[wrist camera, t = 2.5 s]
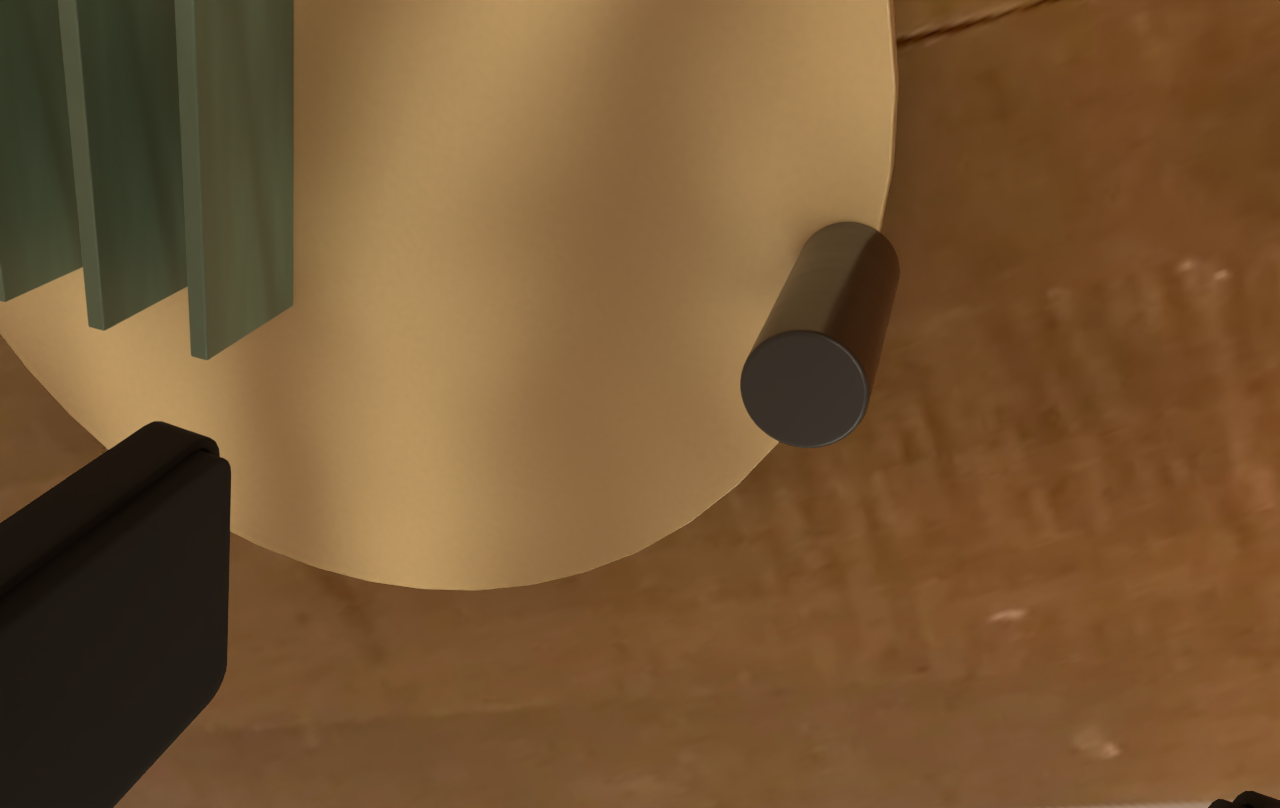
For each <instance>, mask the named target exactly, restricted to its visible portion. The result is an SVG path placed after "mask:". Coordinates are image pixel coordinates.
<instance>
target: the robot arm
mask: <svg viewBox="0 0 1280 808" xmlns="http://www.w3.org/2000/svg"><path fill="white" fill-rule="evenodd" d="M230 507H231V466H230V464H229V462H228V461H227V460H226V459H224V458H222V457H220V453H219V447H218V445H217V443H216V441H214V440H213V439H211V438H210V437H207V436H204V435H201V434H198V433H195V432H192V431H189V430H186V429H183V428H180V427H177V426H174V425H171V424H168V423H165V422H163V421H153V422H151V423H149V424H147V425H145V426H143V427H142V428H140V429H139V430H137V431H136V432H134V433H133V434H132V435H130V436H129V437H127V438H126V439H124V440H123V441H121V442H120V443H118V444H117V445H115V446H114V447H112V448H111V449H109V450H108V451H106V452H105V453H103V454H102V455H100V456H99V457H98V458H96V459H95V460H93V461H92V462H90V463H89V464H87V465H86V466H84V467H83V468H81V469H80V470H78V471H77V472H75V473H74V474H72V475H71V476H69V477H68V478H66V479H65V480H64V481H62V482H61V483H59V484H58V485H56V486H55V487H53V488H52V489H50V490H49V491H47V492H46V493H44V494H43V495H41V496H40V497H38V498H37V499H35V500H34V501H32V502H31V503H30V504H28V505H27V506H25V507H24V508H22V509H21V510H19V511H18V512H16V513H15V514H13V515H12V516H10V517H9V518H7V519H6V520H4V521H3V522H1V523H0V808H113V807H114V806H115V805H116V804H117V803H118V801H119V800H120V799H121V798H122V797H123V796H124V795H125V794H126V793H127V792H128V791H129V790H130V788H131V787H132V786H133V785H134V784H135V783H136V782H137V781H138V780H139V779H140V778H141V776H142V775H143V774H144V773H145V772H146V771H147V770H148V769H149V768H150V767H151V766H152V765H153V763H154V762H155V761H156V760H157V759H158V758H159V757H160V756H161V755H162V754H163V753H164V751H165V750H166V749H167V748H168V747H169V746H170V745H171V744H172V743H173V742H174V741H175V739H176V738H177V737H178V736H179V735H180V734H181V733H182V732H183V731H184V730H185V729H186V728H187V726H188V725H189V724H190V723H191V722H192V721H193V720H194V719H195V718H196V717H197V716H198V714H199V713H200V712H201V711H202V710H203V709H204V708H205V707H206V706H207V705H208V704H209V702H210V701H211V700H212V699H213V697H214V696H215V694H216V693H217V691H218V689H219V688H220V685H221V683H222V681H223V678H224V675H225V672H226V666H227V637H228V594H229V551H230ZM1208 808H1280V800H1277V799H1274V798H1271V797H1268V796H1265V795H1262V794H1259V793H1256V792H1254V791H1245V792H1243V793H1242V794H1240V795H1238V796H1237V797H1236V799H1235V800H1234V801H1233V802H1229V801H1226V800H1223V799H1217V800H1216V801H1214V802H1212V804H1211V805H1210V806H1209V807H1208Z"/></svg>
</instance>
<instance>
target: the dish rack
mask: <svg viewBox="0 0 1280 808" xmlns="http://www.w3.org/2000/svg"><path fill="white" fill-rule="evenodd" d="M898 90H899V73H898V59H897V45H896V31H895V17H894V3H893V0H0V334H1V335H2V337H3V338H4V339H5V340H6V342H7V343H8V344H9V346H10V347H11V348H12V349H13V351H14V352H15V353H16V355H17V356H18V357H19V359H20V360H21V361H22V362H23V364H24V365H25V366H26V368H27V369H28V370H29V371H30V372H31V373H32V374H33V375H34V376H35V377H36V378H37V380H38V381H39V382H40V383H41V384H42V385H43V386H44V387H45V388H46V389H47V390H48V391H49V393H50V394H51V395H52V396H53V397H54V398H55V399H56V400H57V401H58V402H59V403H60V404H61V406H62V407H63V408H64V409H65V410H66V411H67V412H68V413H69V414H70V415H71V416H72V417H73V418H74V419H75V420H76V421H78V422H79V423H80V424H81V425H82V426H83V427H84V428H85V429H86V430H87V431H89V432H90V433H91V434H92V435H93V436H94V437H95V438H96V439H97V440H98V441H99V442H101V443H102V444H103V445H104V446H105V447H106V448H107V449H108V450H109V449H111V448H112V447H114V446H115V445H117V444H118V443H120V442H121V441H123V440H124V439H126V438H127V437H129V436H130V435H132V434H133V433H134V432H136V431H137V430H139V429H140V428H142V427H143V426H145V425H147V424H149V423H151V422H153V421H163V422H165V423H168V424H171V425H174V426H177V427H180V428H183V429H186V430H189V431H192V432H195V433H198V434H201V435H204V436H207V437H210V438H211V439H213V440H214V441H216V443H217V445H218V447H219V453H220V457H222V458H224V459H226V460H227V461H228V462H229V464H230V466H231V507H230V531H231V532H233V533H235V534H237V535H239V536H241V537H243V538H245V539H247V540H249V541H251V542H253V543H255V544H257V545H259V546H261V547H263V548H265V549H268V550H271V551H273V552H276V553H279V554H281V555H284V556H287V557H289V558H292V559H294V560H297V561H300V562H302V563H305V564H308V565H310V566H313V567H316V568H320V569H324V570H328V571H331V572H335V573H339V574H343V575H347V576H350V577H354V578H358V579H362V580H366V581H371V582H377V583H384V584H391V585H398V586H405V587H412V588H419V589H440V590H487V589H497V588H507V587H516V586H526V585H534V584H538V583H542V582H547V581H551V580H555V579H559V578H563V577H568V576H572V575H576V574H580V573H584V572H588V571H590V570H593V569H595V568H598V567H600V566H603V565H606V564H608V563H611V562H613V561H616V560H618V559H621V558H624V557H626V556H629V555H631V554H634V553H636V552H639V551H641V550H643V549H644V548H646V547H648V546H650V545H651V544H653V543H655V542H657V541H658V540H660V539H662V538H664V537H666V536H667V535H669V534H671V533H673V532H674V531H676V530H678V529H680V528H681V527H683V526H685V525H687V524H689V523H690V522H691V521H693V520H694V519H695V518H697V517H698V516H699V515H700V514H702V513H703V512H704V511H706V510H707V509H708V508H709V507H711V506H712V505H713V504H715V503H716V502H717V501H718V500H720V499H721V498H722V497H724V496H725V495H726V494H727V493H729V492H730V491H731V490H733V489H734V488H735V487H736V486H738V485H739V484H740V482H741V481H742V480H743V479H744V478H745V477H746V476H747V475H748V474H749V473H750V472H751V471H752V470H753V469H754V468H755V467H756V466H757V465H758V464H759V463H760V462H761V461H762V459H763V458H764V457H765V456H766V455H767V454H768V453H769V452H770V451H771V450H772V449H773V448H774V447H775V446H776V445H777V444H778V443H779V442H781V443H784V444H787V445H790V446H795V447H802V448H816V447H823V446H826V445H830V444H833V443H835V442H837V441H839V440H841V439H843V438H845V437H846V436H847V435H849V434H850V433H851V432H852V431H853V430H854V429H855V428H856V427H857V426H858V425H859V424H860V422H861V421H862V419H863V417H864V415H865V413H866V411H867V408H868V404H869V400H870V396H871V392H872V388H873V384H874V379H875V375H876V371H877V367H878V363H879V359H880V355H881V351H882V347H883V342H884V338H885V334H886V330H887V326H888V322H889V318H890V314H891V310H892V305H893V301H894V297H895V293H896V289H897V285H898V280H899V272H900V269H899V261H898V257H897V255H896V252H895V250H894V248H893V246H892V245H891V243H890V242H889V241H888V240H887V238H886V237H885V236H884V235H882V234H881V228H882V223H883V218H884V213H885V208H886V203H887V198H888V193H889V188H890V183H891V177H892V172H893V167H894V157H895V141H896V124H897V107H898Z"/></svg>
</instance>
